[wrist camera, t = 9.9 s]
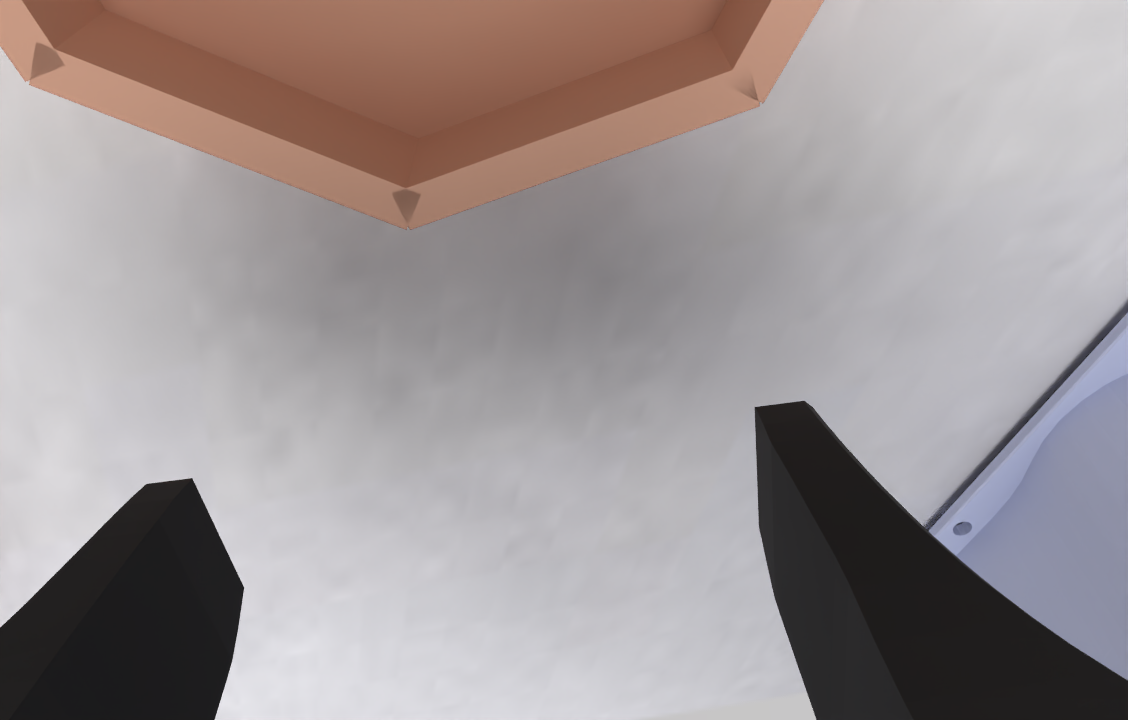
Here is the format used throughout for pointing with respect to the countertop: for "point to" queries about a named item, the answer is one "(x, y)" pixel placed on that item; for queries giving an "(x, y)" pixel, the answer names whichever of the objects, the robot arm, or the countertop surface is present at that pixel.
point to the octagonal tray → (409, 84)
